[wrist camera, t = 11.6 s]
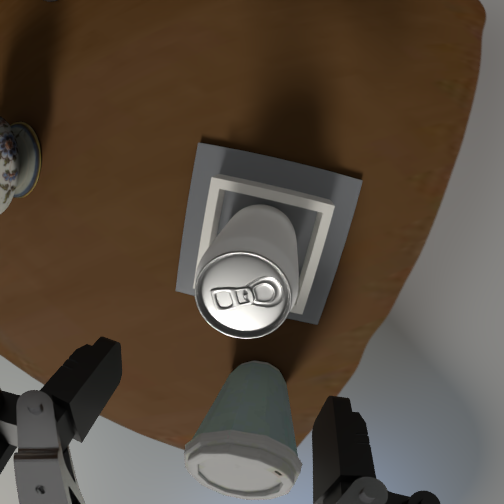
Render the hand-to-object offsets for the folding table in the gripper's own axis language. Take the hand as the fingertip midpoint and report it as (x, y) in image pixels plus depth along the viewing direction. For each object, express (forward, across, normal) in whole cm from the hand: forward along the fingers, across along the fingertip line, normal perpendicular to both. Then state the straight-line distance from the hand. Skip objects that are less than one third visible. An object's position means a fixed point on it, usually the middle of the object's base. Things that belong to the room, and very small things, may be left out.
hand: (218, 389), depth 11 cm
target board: (+20, 0, 0) cm, 20 cm away
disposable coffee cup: (+20, -3, +17) cm, 27 cm away
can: (+20, 0, 0) cm, 20 cm away
